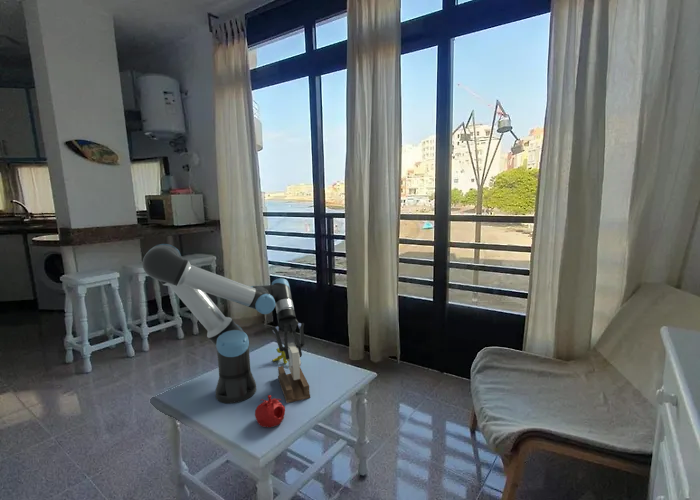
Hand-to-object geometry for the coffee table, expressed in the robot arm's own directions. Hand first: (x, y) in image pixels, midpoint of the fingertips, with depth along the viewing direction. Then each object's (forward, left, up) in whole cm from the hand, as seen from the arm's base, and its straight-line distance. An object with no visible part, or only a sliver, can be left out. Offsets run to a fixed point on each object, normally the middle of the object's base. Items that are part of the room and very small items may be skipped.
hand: (295, 365), depth 135 cm
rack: (-1, +4, -11) cm, 11 cm away
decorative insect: (-1, +27, -11) cm, 29 cm away
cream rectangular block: (0, +4, -5) cm, 6 cm away
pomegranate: (-12, -15, -11) cm, 22 cm away
